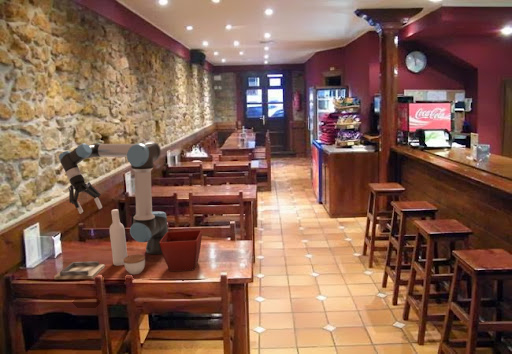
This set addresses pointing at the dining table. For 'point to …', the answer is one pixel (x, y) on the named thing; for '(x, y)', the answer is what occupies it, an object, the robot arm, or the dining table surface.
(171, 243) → the plant pot
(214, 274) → the dining table surface
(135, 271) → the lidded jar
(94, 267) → the shallow rectangular tray
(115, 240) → the bottle
